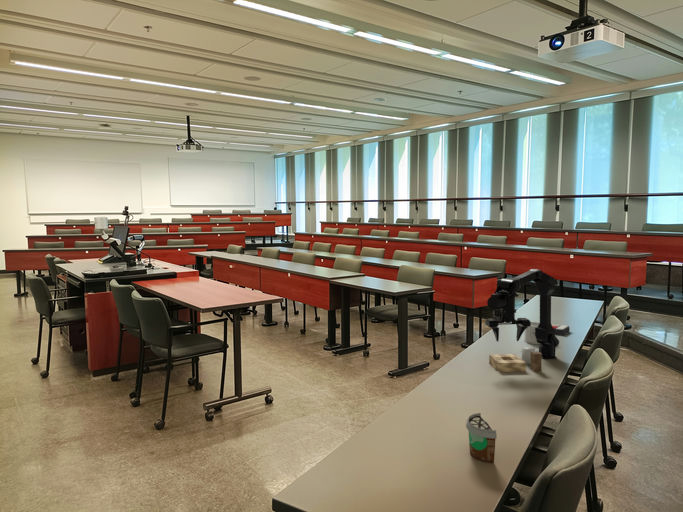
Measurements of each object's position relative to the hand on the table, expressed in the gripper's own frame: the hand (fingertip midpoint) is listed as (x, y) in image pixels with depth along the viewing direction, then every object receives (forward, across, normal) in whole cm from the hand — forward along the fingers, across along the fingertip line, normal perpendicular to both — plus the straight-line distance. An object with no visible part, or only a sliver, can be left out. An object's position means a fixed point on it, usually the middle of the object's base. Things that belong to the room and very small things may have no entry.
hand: (507, 341), depth 208 cm
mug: (+12, -32, -38) cm, 51 cm away
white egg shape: (+12, -12, -5) cm, 18 cm away
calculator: (+13, -50, -58) cm, 78 cm away
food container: (+12, +38, +74) cm, 84 cm away
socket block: (+12, 0, 0) cm, 12 cm away
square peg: (+12, -11, +5) cm, 17 cm away
